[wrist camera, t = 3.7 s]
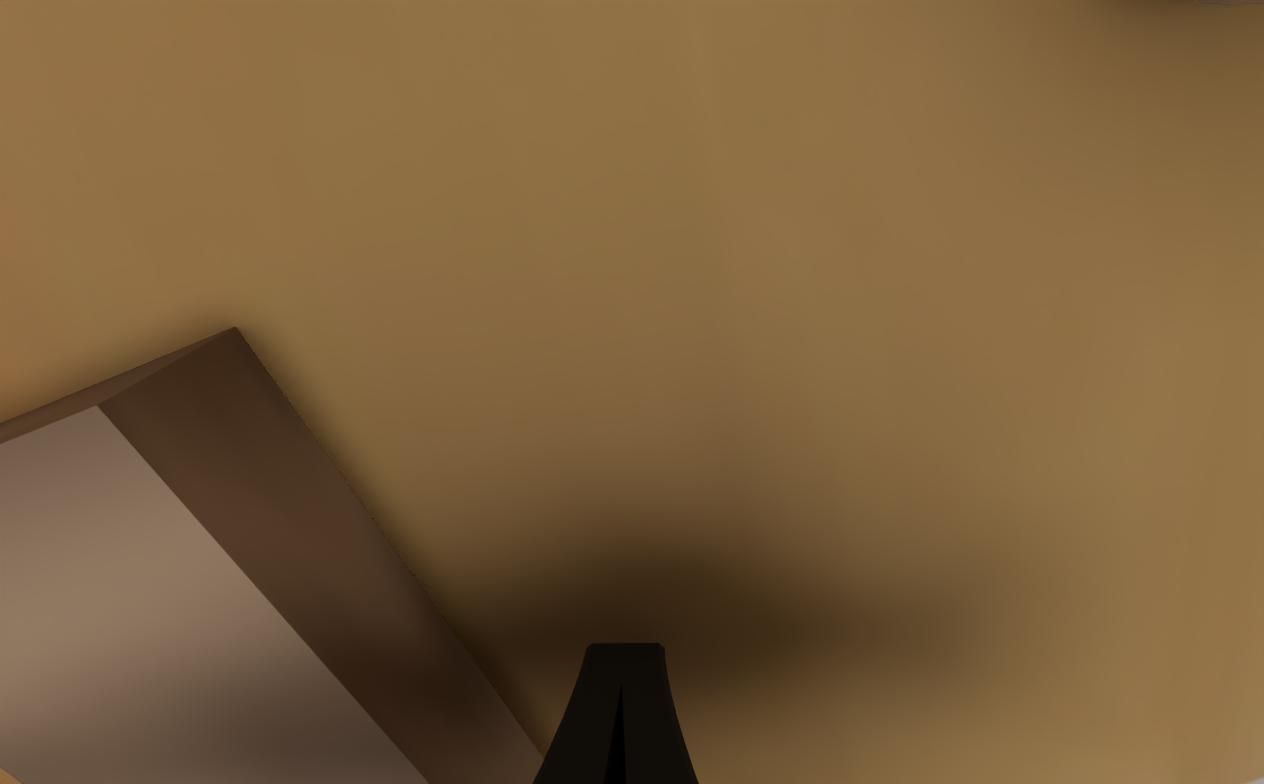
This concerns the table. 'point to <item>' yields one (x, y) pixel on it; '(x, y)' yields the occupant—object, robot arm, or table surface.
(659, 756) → the robot arm
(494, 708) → the brown rectangular block
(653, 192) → the table surface
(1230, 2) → the handle
